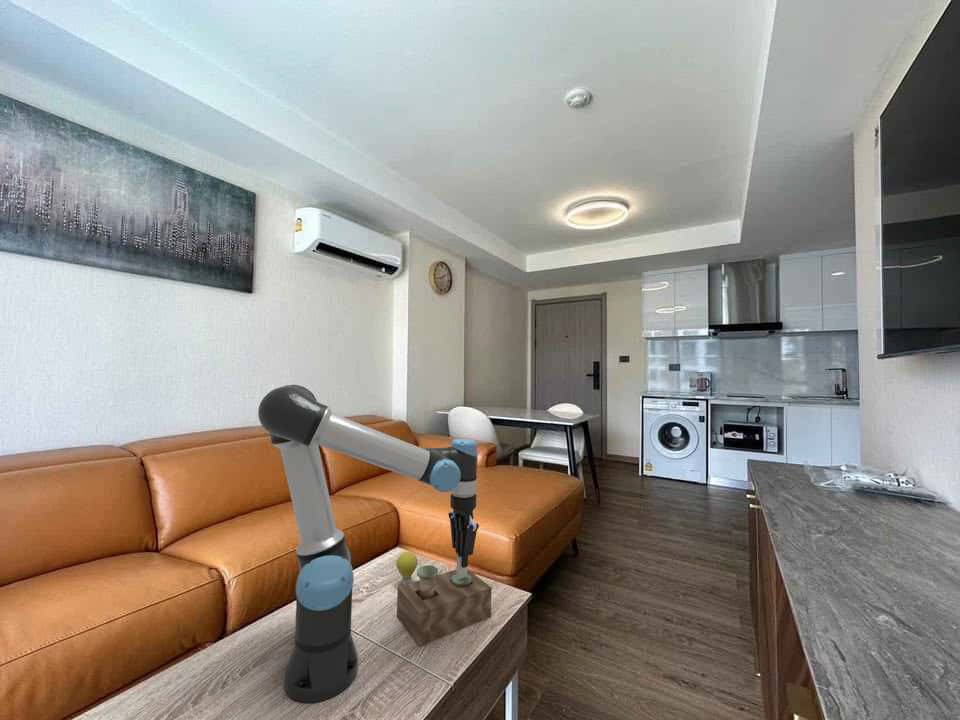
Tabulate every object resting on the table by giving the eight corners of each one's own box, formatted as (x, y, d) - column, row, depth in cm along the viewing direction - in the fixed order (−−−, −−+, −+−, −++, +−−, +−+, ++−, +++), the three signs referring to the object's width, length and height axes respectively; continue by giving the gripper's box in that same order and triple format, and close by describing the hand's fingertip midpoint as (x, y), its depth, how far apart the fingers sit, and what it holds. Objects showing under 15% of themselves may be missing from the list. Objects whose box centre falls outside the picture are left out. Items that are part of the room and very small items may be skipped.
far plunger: (457, 614, 108) (458, 584, 108) (447, 604, 112) (448, 576, 113) (474, 608, 111) (475, 579, 111) (464, 598, 115) (464, 571, 116)
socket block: (418, 646, 96) (419, 612, 97) (396, 616, 108) (397, 587, 108) (490, 616, 109) (491, 587, 109) (464, 593, 120) (464, 566, 121)
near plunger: (421, 609, 102) (422, 577, 102) (412, 598, 106) (413, 568, 107) (440, 602, 105) (441, 572, 105) (431, 592, 109) (431, 563, 110)
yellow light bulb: (412, 591, 121) (413, 558, 121) (392, 588, 122) (393, 556, 122) (420, 580, 127) (420, 549, 128) (400, 578, 129) (401, 547, 129)
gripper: (487, 497, 110) (485, 583, 109) (462, 486, 120) (461, 564, 119) (464, 501, 105) (462, 591, 104) (441, 489, 116) (439, 570, 115)
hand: (461, 576), depth 112 cm, fingers closed
